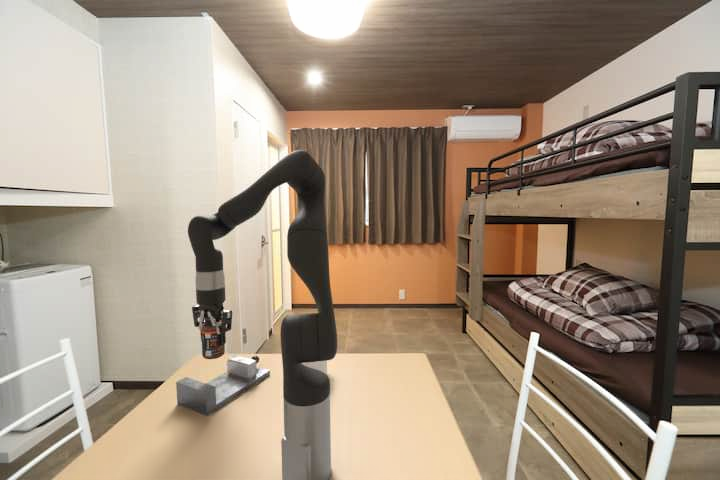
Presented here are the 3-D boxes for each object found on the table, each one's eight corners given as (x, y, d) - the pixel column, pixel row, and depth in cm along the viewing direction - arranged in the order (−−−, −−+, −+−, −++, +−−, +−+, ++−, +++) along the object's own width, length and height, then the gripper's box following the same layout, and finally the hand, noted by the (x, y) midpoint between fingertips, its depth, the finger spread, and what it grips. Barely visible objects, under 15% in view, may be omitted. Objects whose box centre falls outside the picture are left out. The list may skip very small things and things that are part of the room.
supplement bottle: (211, 362, 89) (209, 322, 88) (197, 357, 92) (195, 318, 91) (229, 353, 95) (227, 315, 94) (215, 349, 97) (214, 313, 96)
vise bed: (207, 415, 85) (205, 392, 85) (177, 404, 90) (176, 381, 90) (269, 374, 107) (269, 355, 106) (242, 367, 112) (242, 349, 111)
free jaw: (248, 380, 100) (248, 365, 100) (227, 373, 104) (226, 359, 104) (268, 367, 108) (268, 353, 108) (248, 362, 112) (247, 348, 112)
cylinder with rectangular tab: (322, 383, 101) (322, 346, 100) (295, 381, 103) (294, 344, 102) (329, 369, 110) (329, 335, 109) (304, 367, 111) (303, 333, 110)
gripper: (239, 285, 92) (241, 343, 93) (204, 281, 98) (207, 335, 100) (217, 291, 85) (220, 353, 87) (181, 286, 91) (184, 343, 93)
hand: (213, 343), depth 93 cm, fingers closed on supplement bottle, 6 cm apart
